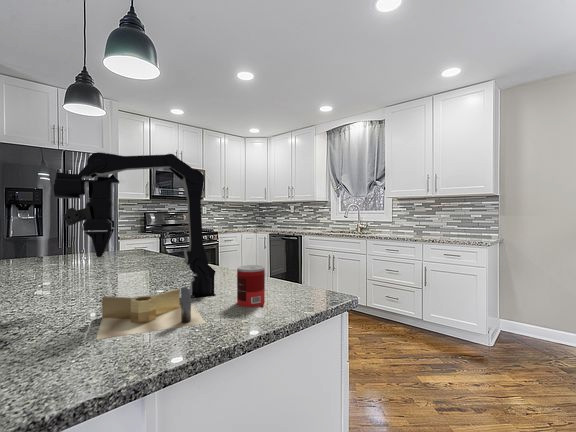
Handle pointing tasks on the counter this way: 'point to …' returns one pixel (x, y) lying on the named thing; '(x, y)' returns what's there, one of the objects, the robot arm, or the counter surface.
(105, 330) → the mounting board
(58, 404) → the counter surface
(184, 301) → the pin
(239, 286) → the canned food
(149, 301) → the spoked octagonal hub
